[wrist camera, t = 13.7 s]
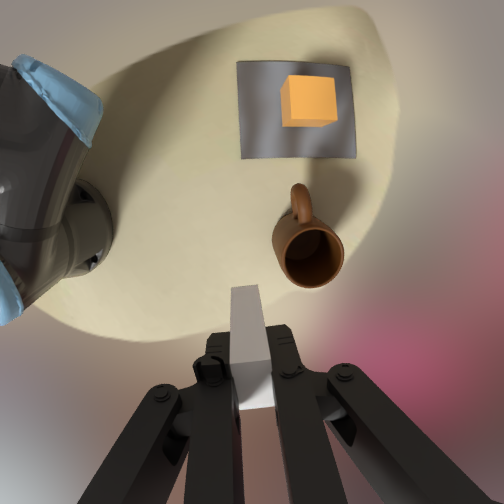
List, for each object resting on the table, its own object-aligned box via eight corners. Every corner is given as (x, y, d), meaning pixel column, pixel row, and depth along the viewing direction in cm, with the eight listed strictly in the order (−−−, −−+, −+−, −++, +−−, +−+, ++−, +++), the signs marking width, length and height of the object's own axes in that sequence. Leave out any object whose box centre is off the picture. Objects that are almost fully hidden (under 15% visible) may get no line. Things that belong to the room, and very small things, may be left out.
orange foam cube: (280, 89, 32) (288, 75, 26) (318, 90, 32) (333, 77, 26) (282, 126, 34) (291, 118, 27) (321, 127, 34) (337, 120, 28)
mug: (260, 185, 37) (266, 191, 28) (314, 175, 37) (336, 179, 28) (276, 267, 41) (285, 296, 32) (326, 256, 41) (348, 281, 32)
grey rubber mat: (241, 159, 36) (241, 157, 29) (236, 63, 32) (235, 42, 25) (354, 158, 37) (378, 158, 30) (348, 67, 32) (368, 51, 25)
